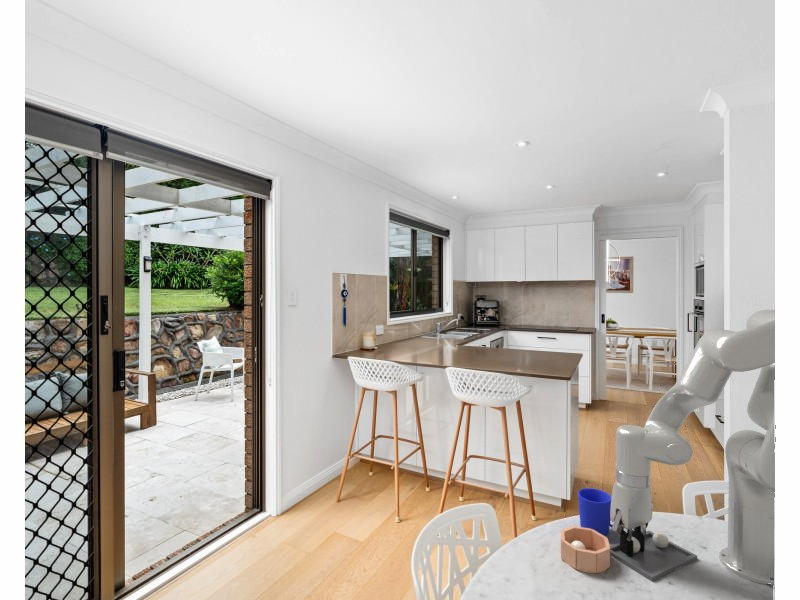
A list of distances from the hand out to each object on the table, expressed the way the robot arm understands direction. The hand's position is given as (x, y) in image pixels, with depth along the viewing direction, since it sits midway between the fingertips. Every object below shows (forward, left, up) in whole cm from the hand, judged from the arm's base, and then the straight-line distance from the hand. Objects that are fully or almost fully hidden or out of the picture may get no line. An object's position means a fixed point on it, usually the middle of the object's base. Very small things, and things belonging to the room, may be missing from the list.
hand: (632, 550), depth 107 cm
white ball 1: (+14, -5, 0) cm, 14 cm away
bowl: (+13, -4, -1) cm, 13 cm away
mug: (-1, -9, -1) cm, 9 cm away
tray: (-2, +3, -1) cm, 4 cm away
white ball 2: (0, 0, 0) cm, 0 cm away
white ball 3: (-8, +2, 0) cm, 8 cm away
